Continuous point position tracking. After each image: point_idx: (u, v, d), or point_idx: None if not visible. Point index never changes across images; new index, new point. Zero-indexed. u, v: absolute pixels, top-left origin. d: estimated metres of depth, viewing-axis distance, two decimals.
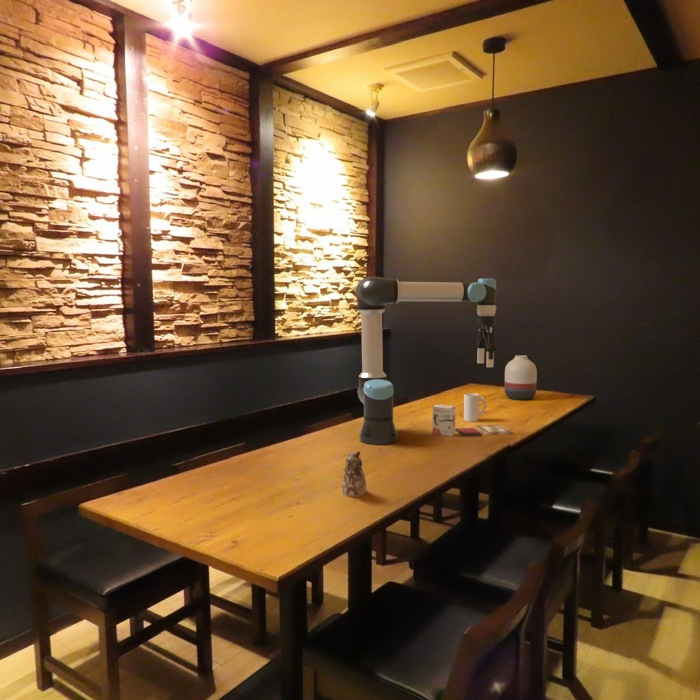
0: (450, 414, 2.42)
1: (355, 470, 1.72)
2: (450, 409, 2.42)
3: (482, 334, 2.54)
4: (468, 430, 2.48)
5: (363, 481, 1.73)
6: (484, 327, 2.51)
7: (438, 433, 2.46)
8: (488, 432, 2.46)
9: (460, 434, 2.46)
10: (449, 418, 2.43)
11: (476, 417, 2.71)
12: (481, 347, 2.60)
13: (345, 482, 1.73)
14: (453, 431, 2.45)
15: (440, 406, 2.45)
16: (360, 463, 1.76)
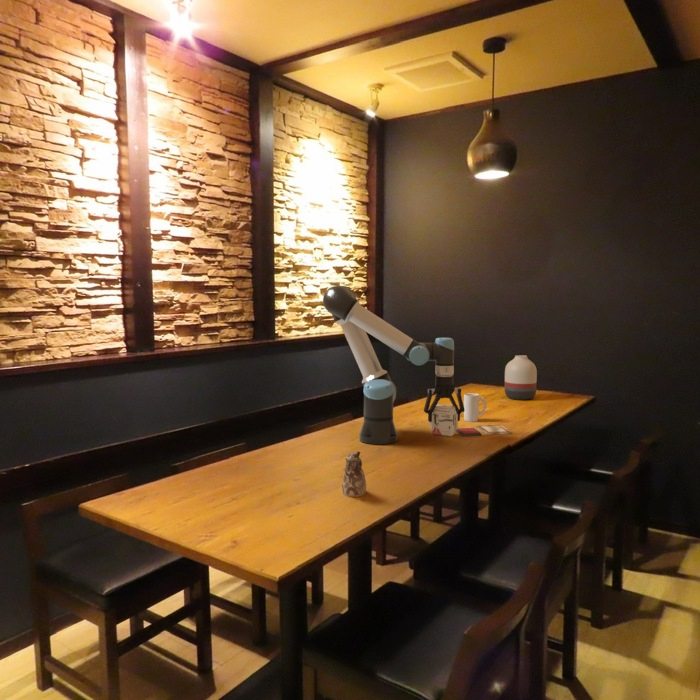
0: (450, 414, 2.42)
1: (355, 470, 1.72)
2: (450, 409, 2.42)
3: None
4: (468, 430, 2.48)
5: (363, 481, 1.73)
6: None
7: (438, 433, 2.46)
8: (488, 432, 2.46)
9: (460, 434, 2.46)
10: (449, 418, 2.43)
11: (476, 417, 2.71)
12: (456, 412, 2.46)
13: (345, 482, 1.73)
14: (453, 431, 2.45)
15: (440, 406, 2.45)
16: (360, 463, 1.76)
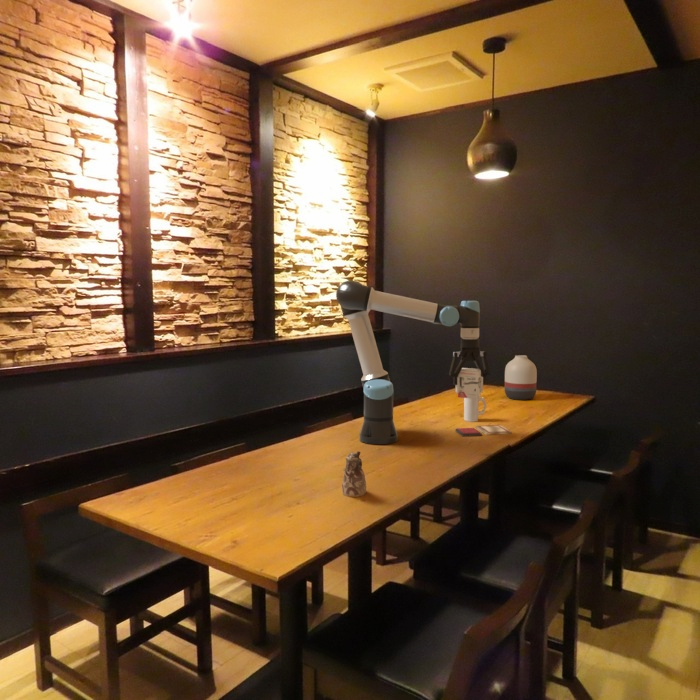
0: (476, 376, 2.42)
1: (355, 470, 1.72)
2: (476, 371, 2.42)
3: None
4: (468, 430, 2.48)
5: (363, 481, 1.73)
6: None
7: (463, 396, 2.46)
8: (488, 432, 2.46)
9: (460, 434, 2.46)
10: (475, 380, 2.43)
11: (476, 417, 2.71)
12: (481, 375, 2.46)
13: (345, 482, 1.73)
14: (479, 394, 2.44)
15: (465, 369, 2.45)
16: (360, 463, 1.76)
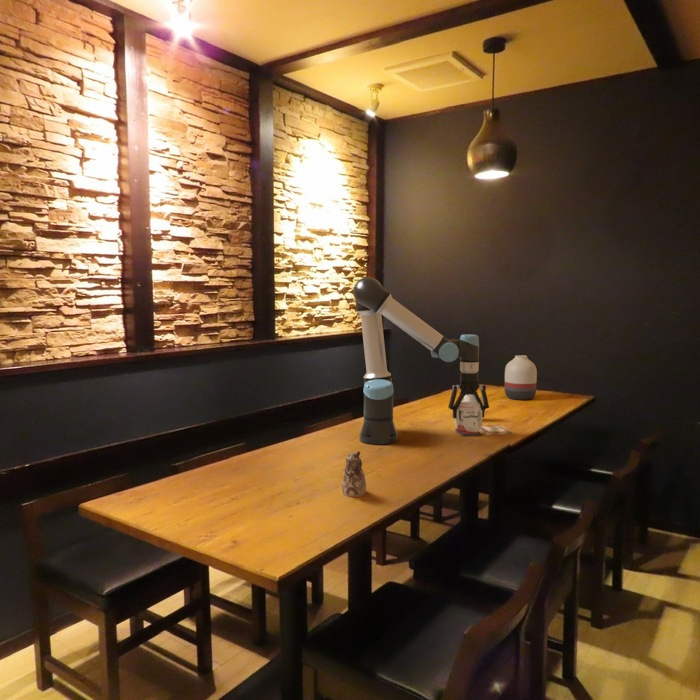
0: (475, 410, 2.43)
1: (355, 470, 1.72)
2: (475, 405, 2.43)
3: None
4: None
5: (363, 481, 1.73)
6: None
7: (462, 429, 2.47)
8: (488, 432, 2.46)
9: (460, 434, 2.46)
10: (474, 414, 2.44)
11: None
12: (481, 408, 2.48)
13: (345, 482, 1.73)
14: (478, 427, 2.46)
15: (465, 402, 2.47)
16: (360, 463, 1.76)
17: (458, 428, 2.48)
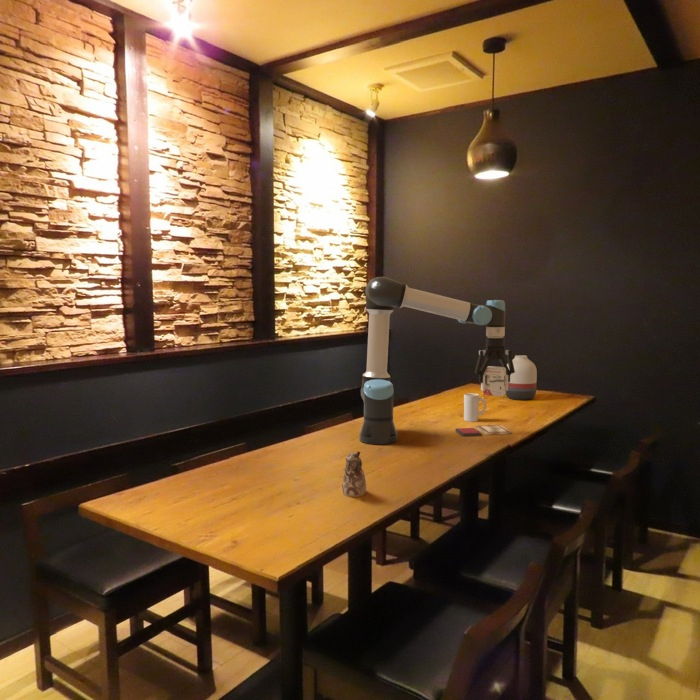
0: (501, 374, 2.47)
1: (355, 470, 1.72)
2: (501, 370, 2.46)
3: None
4: (468, 430, 2.48)
5: (363, 481, 1.73)
6: None
7: (489, 394, 2.50)
8: (488, 432, 2.46)
9: (460, 434, 2.46)
10: (500, 378, 2.47)
11: (476, 417, 2.71)
12: (507, 373, 2.51)
13: (345, 482, 1.73)
14: (504, 392, 2.49)
15: (491, 367, 2.50)
16: (360, 463, 1.76)
17: (484, 393, 2.51)
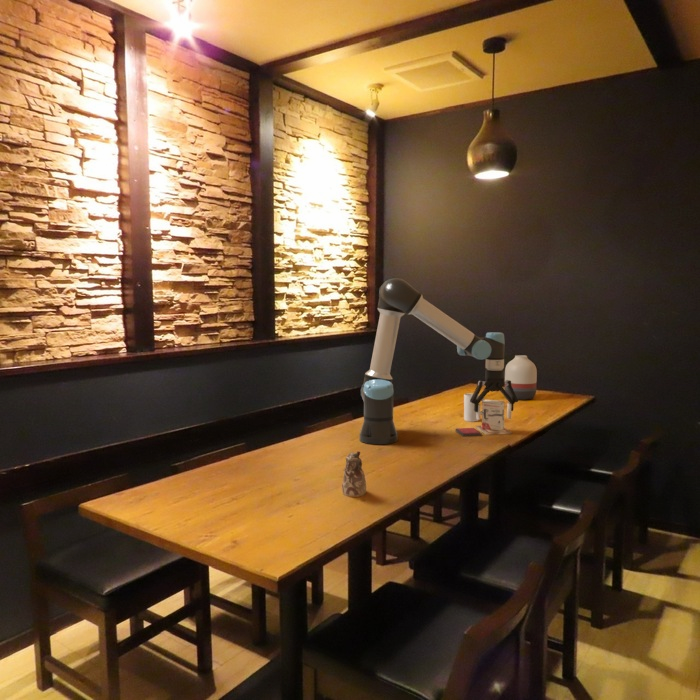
0: (500, 409, 2.48)
1: (355, 470, 1.72)
2: (500, 404, 2.48)
3: None
4: (468, 430, 2.48)
5: (363, 481, 1.73)
6: None
7: (487, 428, 2.51)
8: (488, 432, 2.46)
9: (460, 434, 2.46)
10: (499, 413, 2.48)
11: None
12: (510, 402, 2.52)
13: (345, 482, 1.73)
14: (502, 425, 2.50)
15: (490, 401, 2.51)
16: (360, 463, 1.76)
17: (483, 426, 2.52)
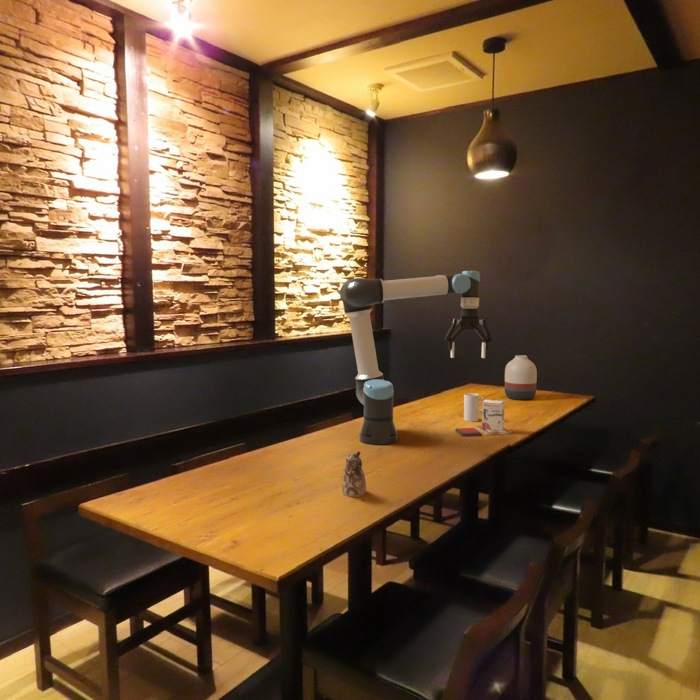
0: (500, 409, 2.48)
1: (355, 470, 1.72)
2: (500, 404, 2.48)
3: None
4: (468, 430, 2.48)
5: (363, 481, 1.73)
6: None
7: (487, 428, 2.51)
8: (488, 432, 2.46)
9: (460, 434, 2.46)
10: (499, 413, 2.48)
11: (476, 417, 2.71)
12: (484, 341, 2.54)
13: (345, 482, 1.73)
14: (502, 425, 2.50)
15: (490, 401, 2.51)
16: (360, 463, 1.76)
17: (483, 426, 2.52)
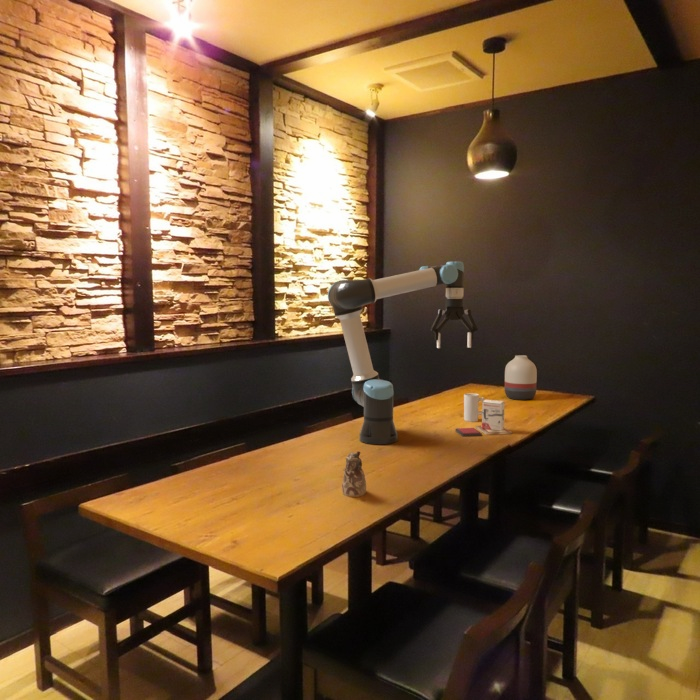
0: (500, 409, 2.48)
1: (355, 470, 1.72)
2: (500, 404, 2.48)
3: None
4: (468, 430, 2.48)
5: (363, 481, 1.73)
6: None
7: (487, 428, 2.51)
8: (488, 432, 2.46)
9: (460, 434, 2.46)
10: (499, 413, 2.48)
11: (476, 417, 2.71)
12: (470, 331, 2.56)
13: (345, 482, 1.73)
14: (502, 425, 2.50)
15: (490, 401, 2.51)
16: (360, 463, 1.76)
17: (483, 426, 2.52)
